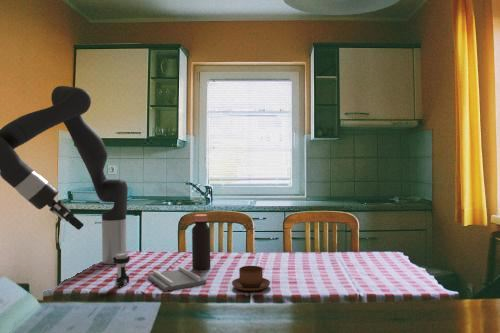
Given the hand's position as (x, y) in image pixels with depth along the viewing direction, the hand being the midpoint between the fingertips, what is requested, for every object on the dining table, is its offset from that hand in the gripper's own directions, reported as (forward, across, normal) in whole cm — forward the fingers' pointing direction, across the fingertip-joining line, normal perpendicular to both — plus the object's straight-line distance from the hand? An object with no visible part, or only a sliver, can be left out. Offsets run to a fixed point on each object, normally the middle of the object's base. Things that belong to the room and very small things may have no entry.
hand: (79, 225), depth 121 cm
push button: (+23, -1, +6) cm, 24 cm away
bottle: (+45, +4, -16) cm, 48 cm away
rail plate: (+35, -6, -6) cm, 36 cm away
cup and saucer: (+48, -26, -18) cm, 57 cm away
